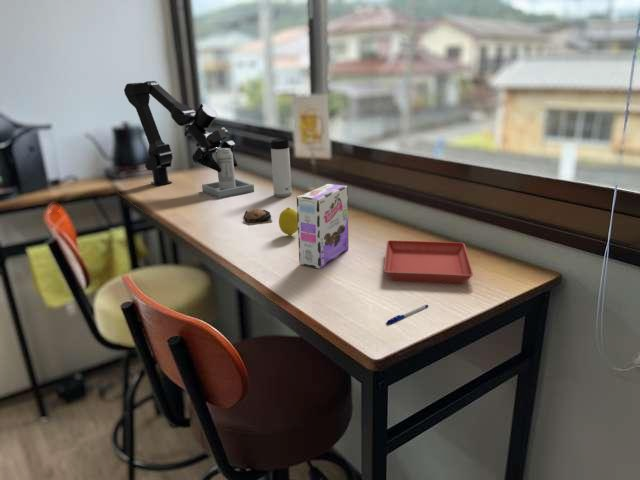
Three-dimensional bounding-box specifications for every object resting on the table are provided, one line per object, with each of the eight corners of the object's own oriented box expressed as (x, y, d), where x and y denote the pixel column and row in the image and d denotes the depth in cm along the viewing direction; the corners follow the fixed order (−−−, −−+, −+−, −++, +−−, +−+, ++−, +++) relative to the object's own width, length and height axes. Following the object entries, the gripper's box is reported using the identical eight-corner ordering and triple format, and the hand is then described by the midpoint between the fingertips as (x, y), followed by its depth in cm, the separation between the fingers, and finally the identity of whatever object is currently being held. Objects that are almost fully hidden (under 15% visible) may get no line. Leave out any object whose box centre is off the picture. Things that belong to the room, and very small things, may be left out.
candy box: (320, 269, 107) (317, 199, 102) (298, 264, 110) (294, 196, 105) (349, 249, 118) (348, 184, 112) (329, 245, 121) (327, 182, 115)
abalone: (274, 224, 141) (273, 212, 139) (245, 227, 139) (244, 215, 137) (268, 214, 150) (267, 202, 149) (241, 216, 148) (240, 205, 147)
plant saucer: (472, 289, 97) (474, 274, 96) (383, 285, 100) (383, 270, 99) (463, 255, 113) (464, 242, 112) (386, 252, 116) (386, 240, 115)
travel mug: (292, 197, 166) (288, 139, 159) (273, 197, 166) (269, 139, 159) (293, 192, 172) (290, 136, 165) (275, 193, 172) (271, 137, 165)
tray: (202, 191, 178) (201, 184, 177) (236, 184, 186) (235, 178, 185) (219, 198, 167) (218, 191, 167) (254, 191, 175) (253, 184, 174)
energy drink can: (237, 187, 179) (234, 147, 174) (233, 191, 173) (229, 150, 168) (222, 187, 180) (218, 147, 174) (217, 191, 174) (212, 150, 169)
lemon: (303, 233, 130) (301, 205, 128) (295, 240, 126) (294, 211, 123) (284, 231, 132) (282, 204, 129) (276, 238, 127) (274, 209, 125)
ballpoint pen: (389, 327, 84) (389, 321, 84) (385, 325, 85) (385, 320, 84) (428, 307, 90) (428, 303, 89) (425, 306, 90) (425, 301, 90)
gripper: (194, 124, 162) (222, 158, 161) (229, 118, 177) (255, 149, 176) (180, 146, 168) (207, 179, 167) (214, 138, 184) (240, 169, 182)
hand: (228, 168), depth 173 cm, fingers open, 9 cm apart
